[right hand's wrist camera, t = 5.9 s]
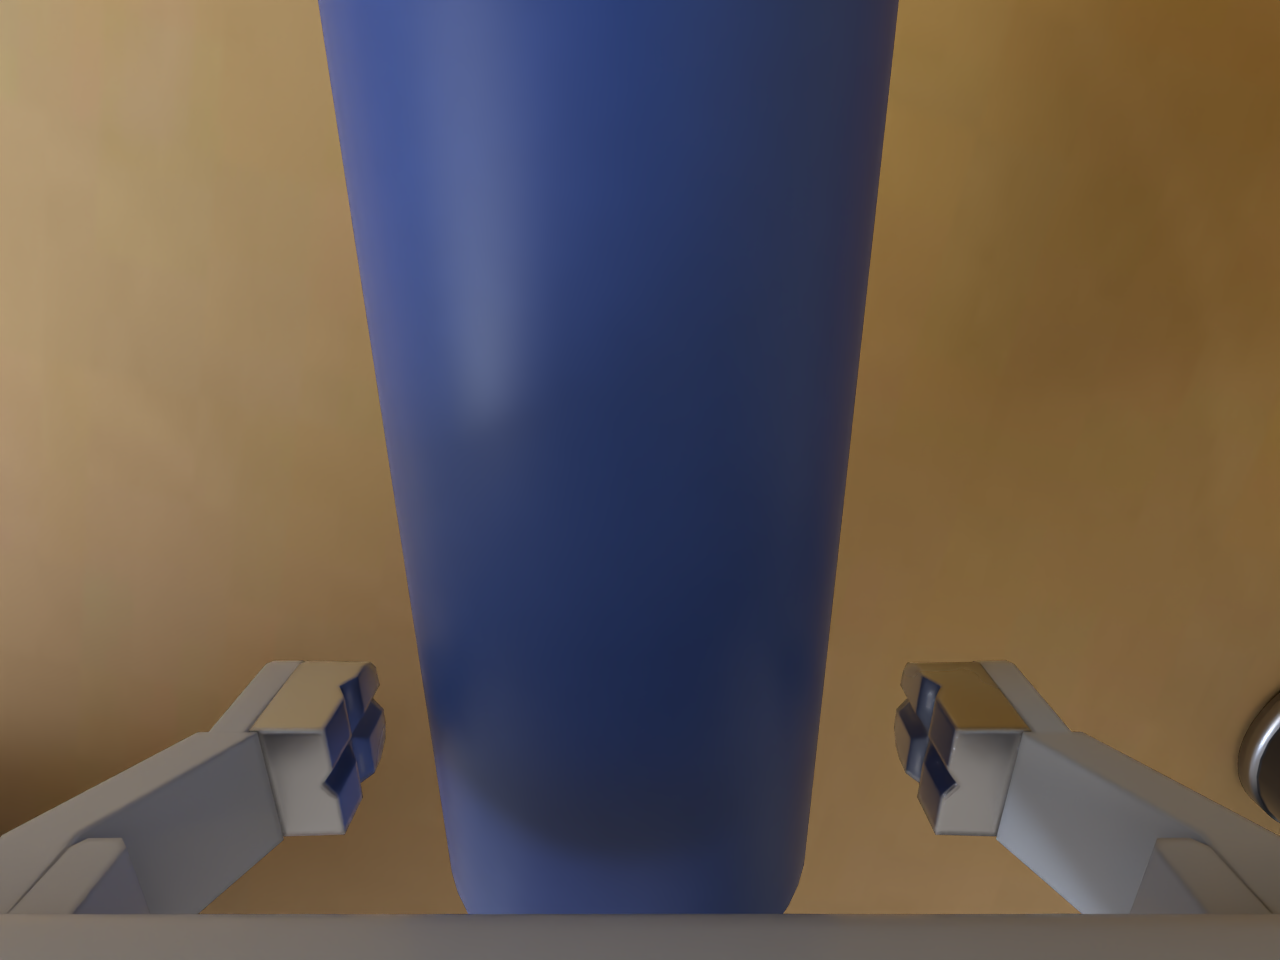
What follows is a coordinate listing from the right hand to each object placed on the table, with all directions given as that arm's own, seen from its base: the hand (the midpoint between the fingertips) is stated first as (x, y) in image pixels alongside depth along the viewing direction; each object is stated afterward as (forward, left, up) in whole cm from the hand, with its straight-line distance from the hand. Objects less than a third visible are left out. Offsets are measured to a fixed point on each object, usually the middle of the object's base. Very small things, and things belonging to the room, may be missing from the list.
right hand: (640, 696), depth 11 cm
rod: (+2, +8, -4) cm, 9 cm away
